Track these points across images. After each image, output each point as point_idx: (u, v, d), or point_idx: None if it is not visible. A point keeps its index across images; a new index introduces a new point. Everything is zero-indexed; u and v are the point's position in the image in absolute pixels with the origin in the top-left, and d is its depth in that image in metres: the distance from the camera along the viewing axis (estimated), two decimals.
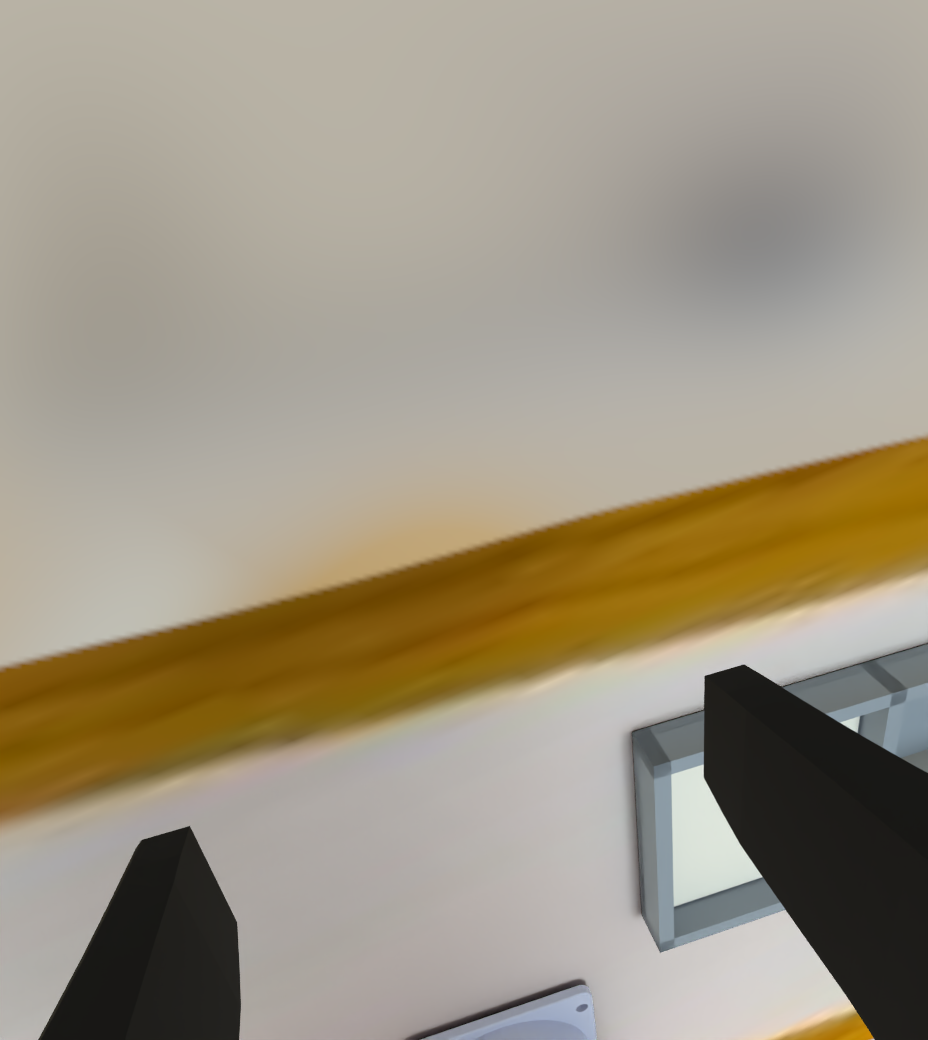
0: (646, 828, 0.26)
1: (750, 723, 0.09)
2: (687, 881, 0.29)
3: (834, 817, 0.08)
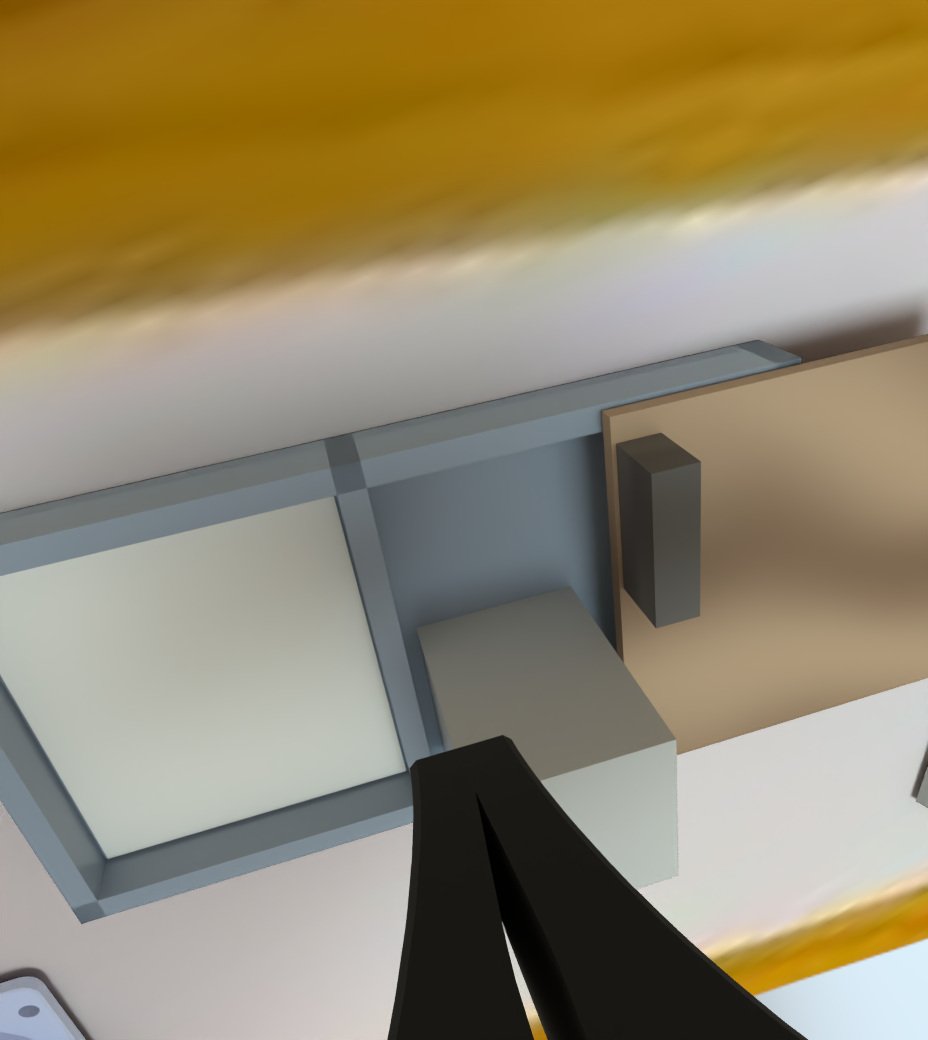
0: None
1: (480, 805, 0.09)
2: (131, 812, 0.18)
3: (528, 917, 0.08)
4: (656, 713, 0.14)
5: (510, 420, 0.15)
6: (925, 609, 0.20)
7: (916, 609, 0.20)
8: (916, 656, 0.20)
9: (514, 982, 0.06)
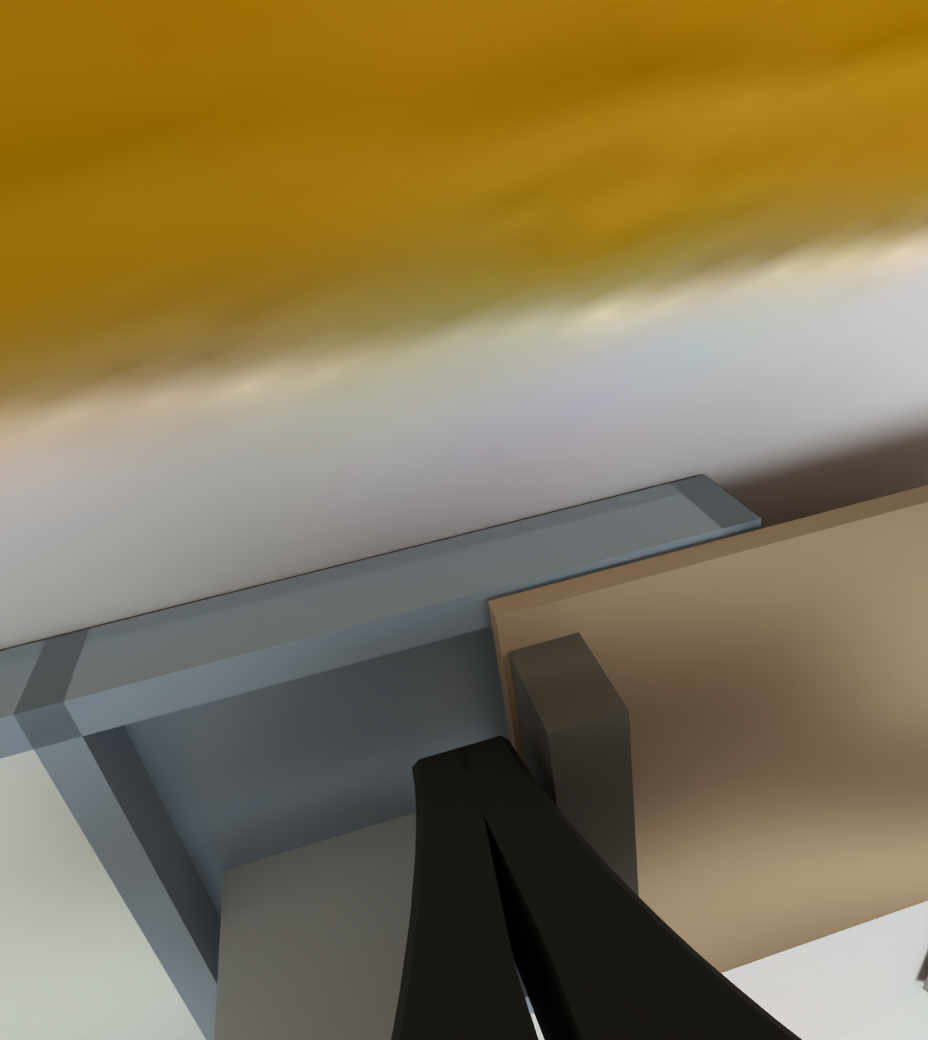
0: None
1: None
2: None
3: (524, 918, 0.08)
4: None
5: (313, 623, 0.10)
6: None
7: None
8: None
9: (518, 981, 0.06)
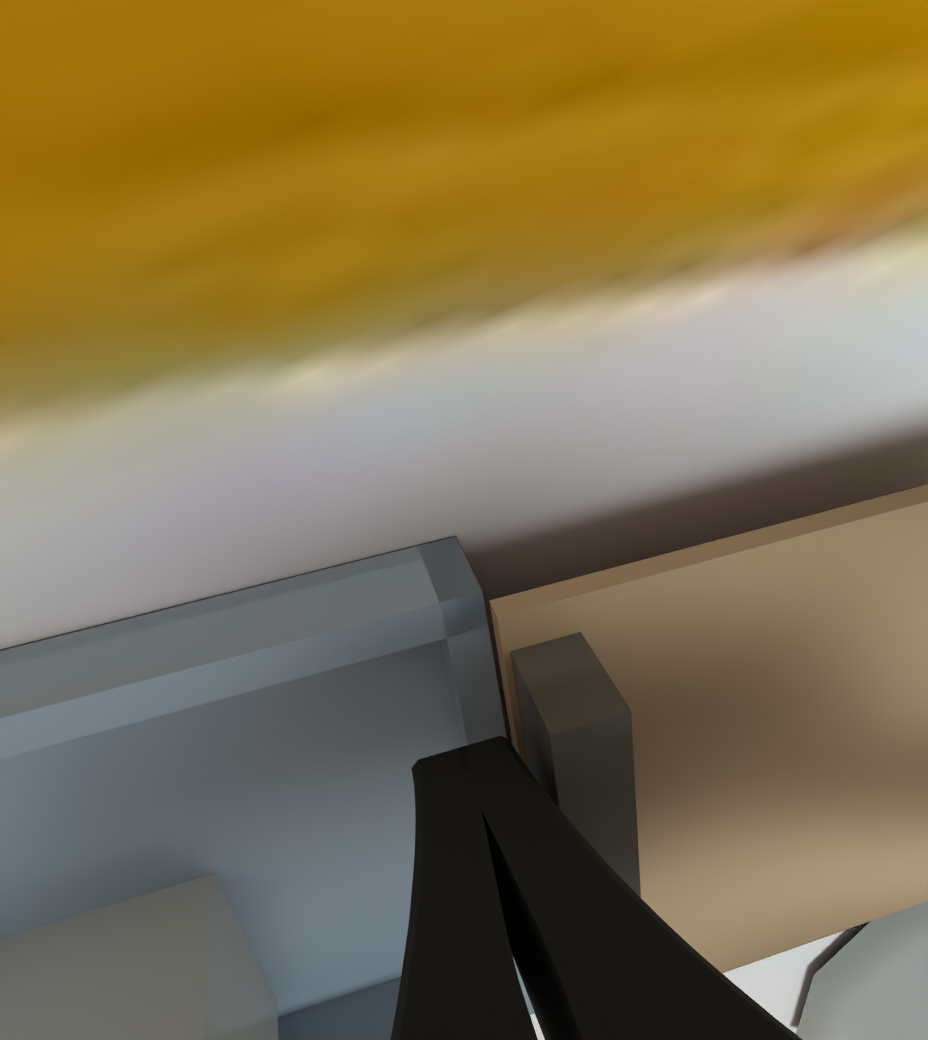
0: None
1: None
2: None
3: (525, 918, 0.08)
4: None
5: None
6: None
7: None
8: None
9: (517, 981, 0.06)
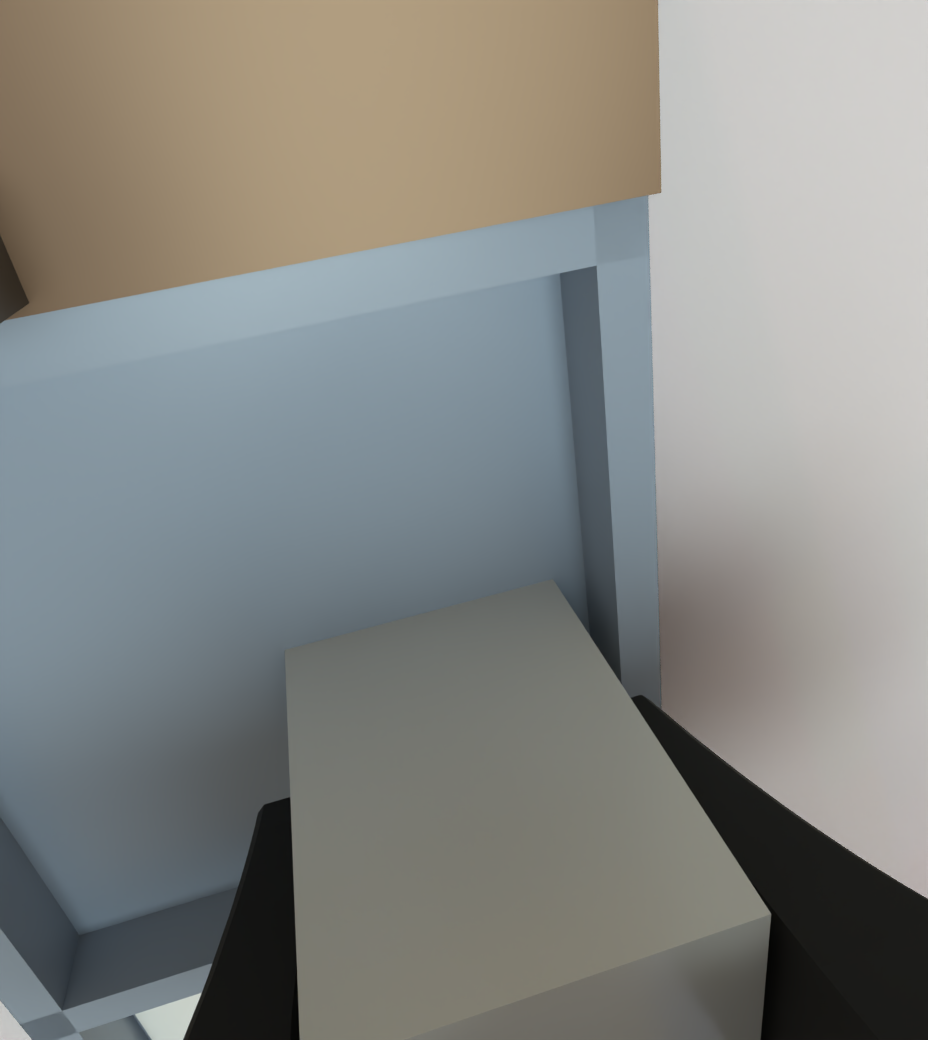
0: None
1: None
2: None
3: None
4: None
5: None
6: None
7: None
8: None
9: None
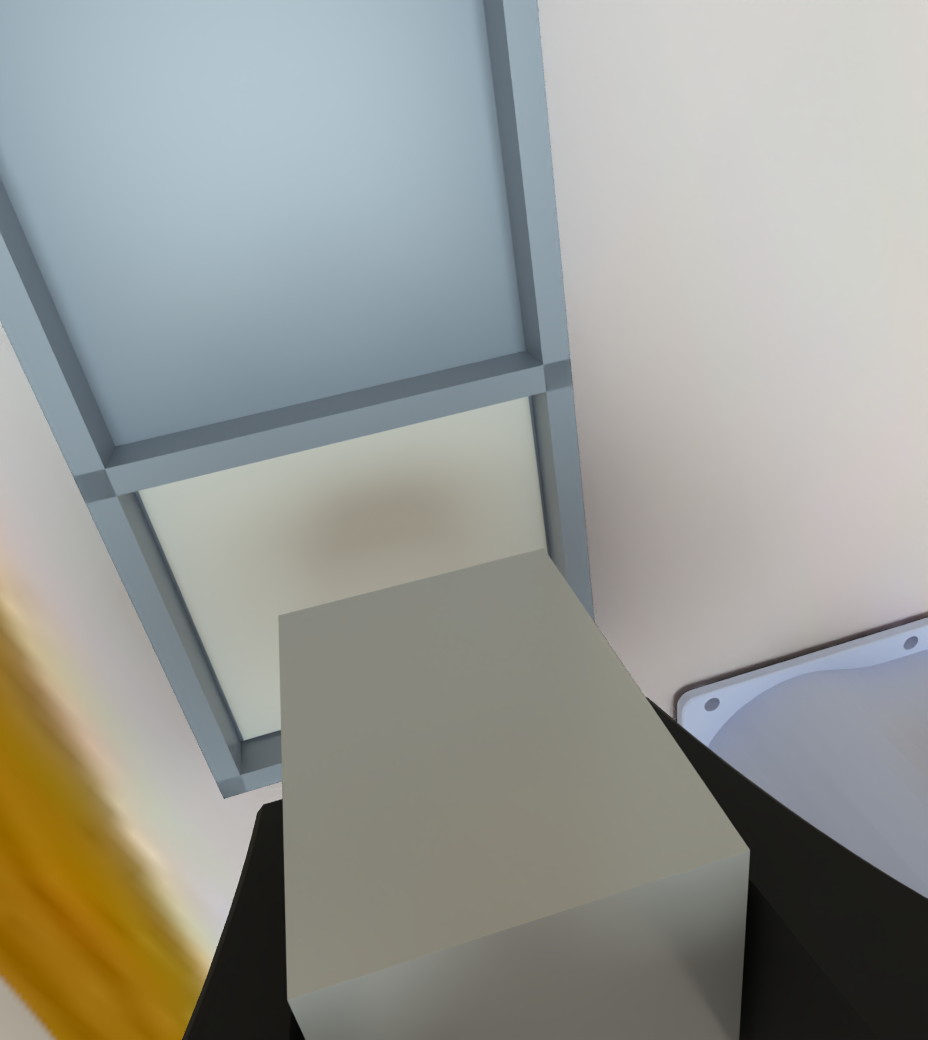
0: None
1: None
2: None
3: None
4: None
5: (1, 309, 0.13)
6: None
7: None
8: None
9: None
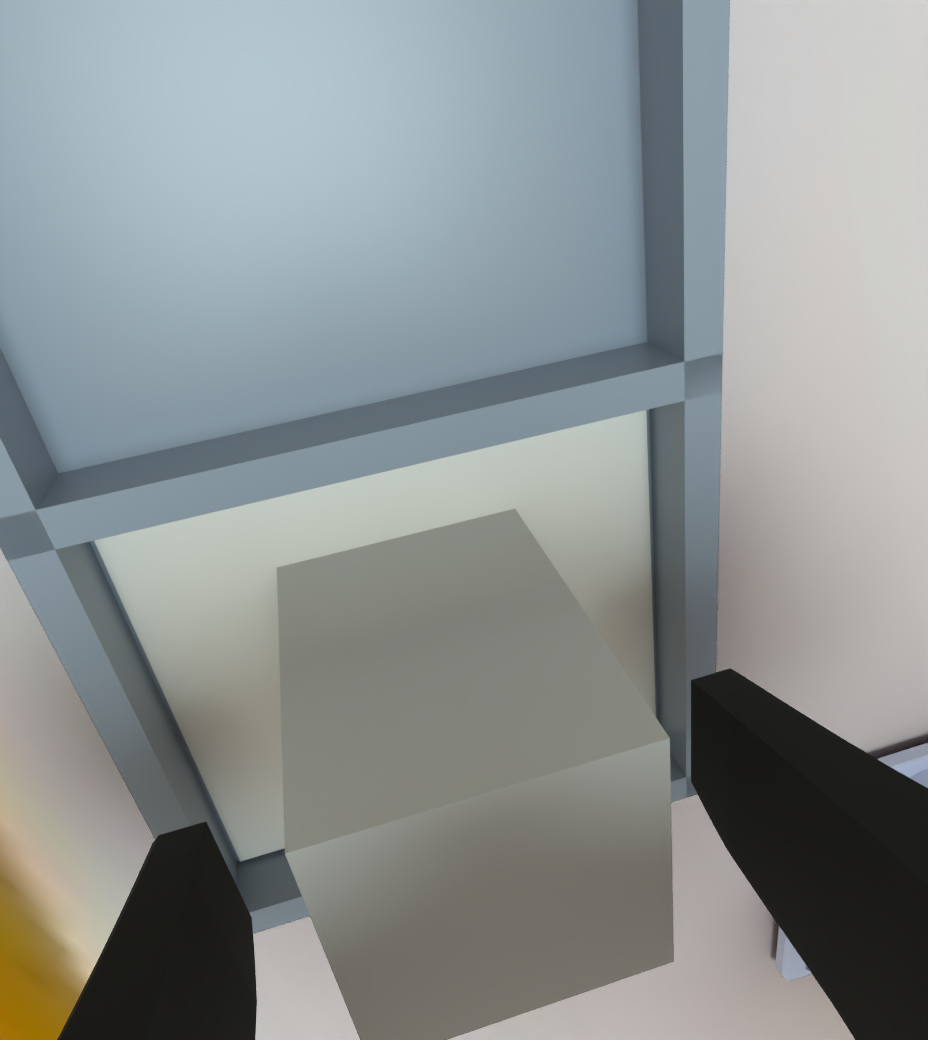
0: None
1: (735, 728, 0.09)
2: None
3: (817, 823, 0.08)
4: (283, 798, 0.08)
5: None
6: None
7: None
8: None
9: None
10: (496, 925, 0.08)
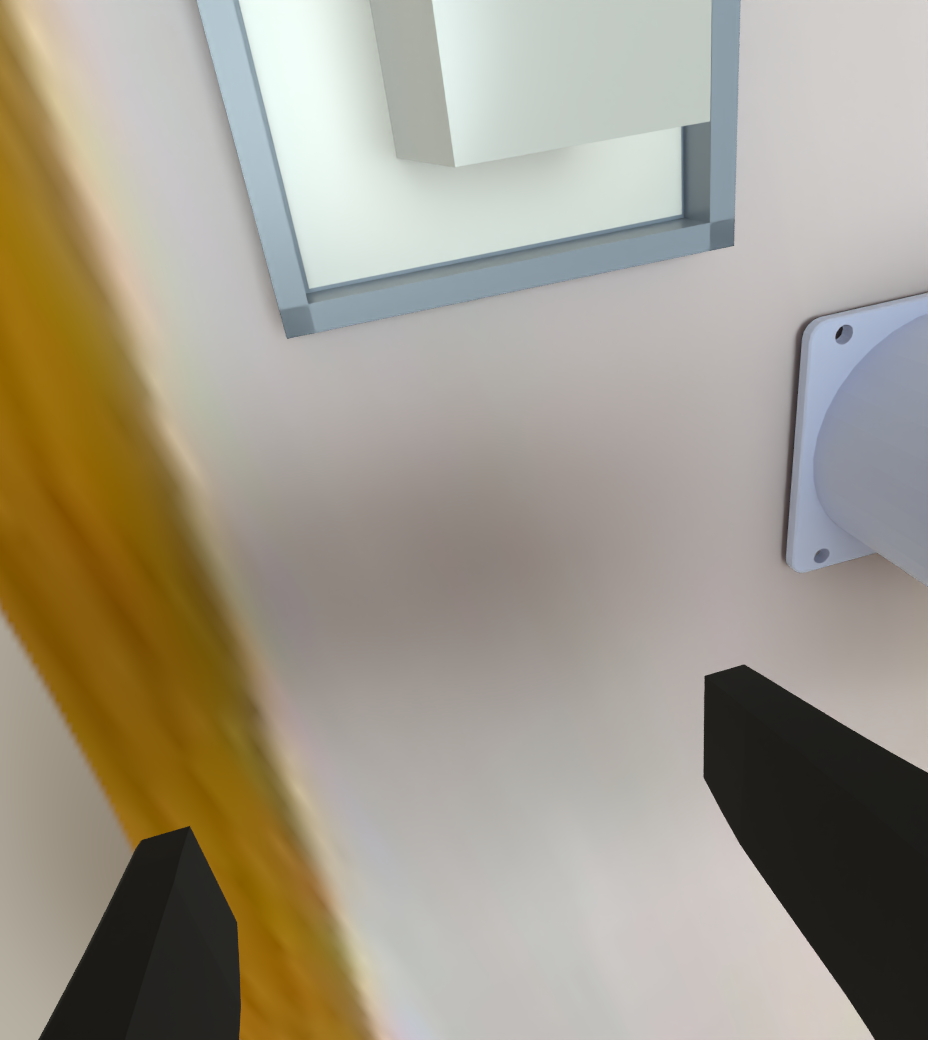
0: None
1: (750, 723, 0.09)
2: (627, 175, 0.17)
3: (834, 817, 0.08)
4: None
5: None
6: None
7: None
8: None
9: None
10: None
